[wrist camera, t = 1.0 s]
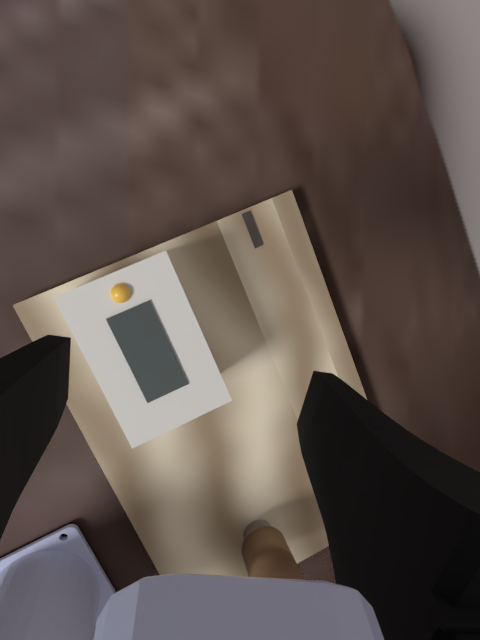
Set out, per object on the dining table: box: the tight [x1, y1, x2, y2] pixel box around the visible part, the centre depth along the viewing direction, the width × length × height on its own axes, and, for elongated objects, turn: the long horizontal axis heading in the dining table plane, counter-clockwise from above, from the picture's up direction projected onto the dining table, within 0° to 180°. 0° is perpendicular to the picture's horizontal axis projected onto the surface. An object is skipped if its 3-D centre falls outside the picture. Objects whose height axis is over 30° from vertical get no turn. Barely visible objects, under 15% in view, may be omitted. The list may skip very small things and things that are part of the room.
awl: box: [241, 520, 305, 580], centre depth 28 cm, size 3×3×6 cm
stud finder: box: [54, 251, 232, 449], centre depth 24 cm, size 6×9×6 cm, turn 22°
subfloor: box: [13, 190, 367, 577], centre depth 30 cm, size 19×26×1 cm
